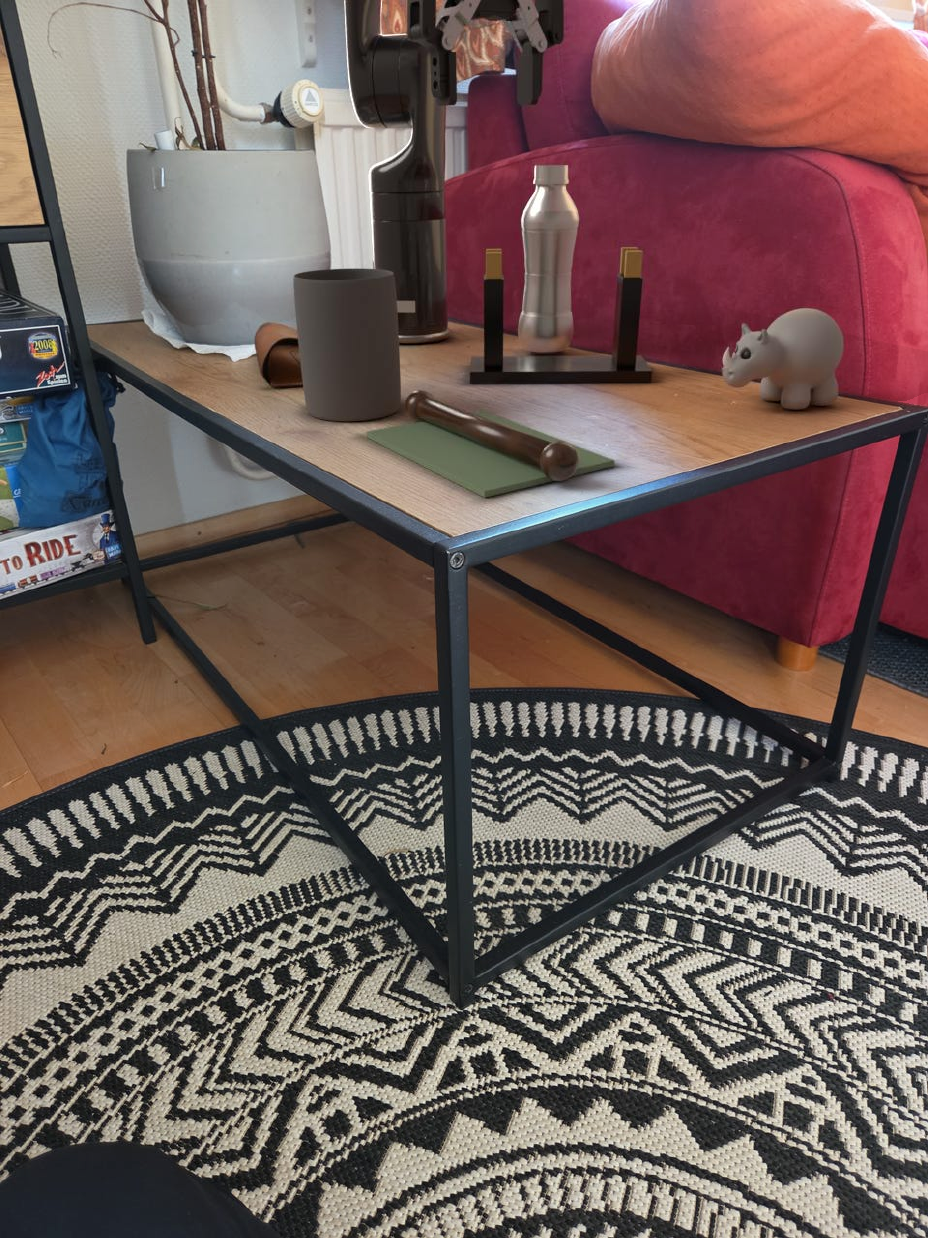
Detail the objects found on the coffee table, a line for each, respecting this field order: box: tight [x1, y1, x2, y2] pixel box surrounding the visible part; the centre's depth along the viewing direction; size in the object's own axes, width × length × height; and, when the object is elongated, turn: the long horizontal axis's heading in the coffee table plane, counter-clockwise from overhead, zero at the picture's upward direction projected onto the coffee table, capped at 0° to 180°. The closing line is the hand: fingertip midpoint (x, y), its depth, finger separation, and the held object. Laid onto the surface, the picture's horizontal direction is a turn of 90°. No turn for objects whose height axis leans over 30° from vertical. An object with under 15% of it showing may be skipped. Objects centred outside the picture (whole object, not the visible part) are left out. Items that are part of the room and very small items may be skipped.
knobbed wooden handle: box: [404, 389, 579, 482], centre depth 68 cm, size 3×22×3 cm, turn 33°
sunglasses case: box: [254, 321, 303, 388], centre depth 96 cm, size 18×7×7 cm
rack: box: [469, 246, 653, 384], centre depth 90 cm, size 8×19×12 cm, turn 88°
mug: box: [292, 268, 402, 422], centre depth 80 cm, size 14×9×12 cm
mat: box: [365, 410, 615, 499], centre depth 69 cm, size 18×12×1 cm, turn 33°
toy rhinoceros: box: [721, 307, 845, 411], centre depth 78 cm, size 7×12×8 cm, turn 108°
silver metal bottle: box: [517, 164, 580, 355], centre depth 98 cm, size 6×7×20 cm
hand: (488, 105), depth 74 cm, fingers open, 8 cm apart
